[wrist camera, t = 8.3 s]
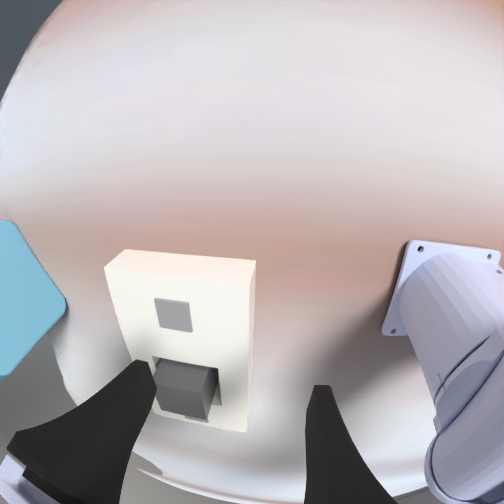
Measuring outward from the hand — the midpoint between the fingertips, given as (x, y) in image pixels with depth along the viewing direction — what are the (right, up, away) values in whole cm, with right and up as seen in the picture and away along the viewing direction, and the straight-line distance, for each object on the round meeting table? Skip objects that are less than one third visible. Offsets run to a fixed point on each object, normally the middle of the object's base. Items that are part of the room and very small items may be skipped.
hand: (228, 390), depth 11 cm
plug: (-4, -3, +13) cm, 14 cm away
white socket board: (-4, -2, +12) cm, 13 cm away
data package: (-23, +4, +12) cm, 26 cm away
